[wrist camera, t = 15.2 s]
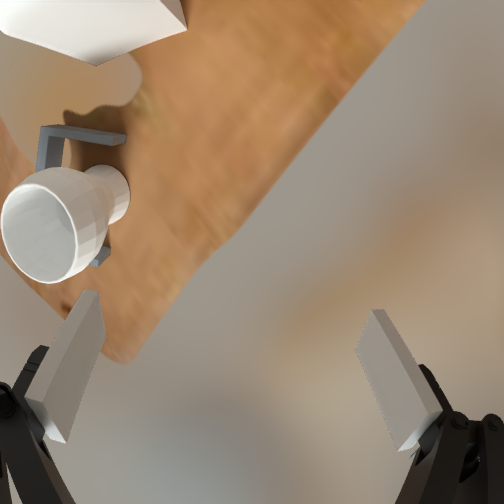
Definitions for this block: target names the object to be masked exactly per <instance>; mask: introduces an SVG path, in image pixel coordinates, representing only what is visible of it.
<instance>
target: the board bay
mask: <svg viewBox="0 0 504 504" xmlns="http://www.w3.org/2000/svg"><path fill="white" fill-rule="evenodd" d="M126 136H127V135H124V134H119V133H113V132H107V131H100V130H94V129H87V128H81V127H74V126H66V125H48V126H41V129H40V137H39V144H38V152H37V162H36V173H37V172H39V171H42V170H45V169H48V168H51V167H61V163H62V155H63V147H64V140H65V138H67V139H74V140H80V141H86V142H92V143H98V144H103V145H109V146H114V145H118V144H123V143H125V141H126ZM110 250H111V248H109V247H106V246H101V248H100V251H99V253H98V254H97V255H96V256H95V258H94V259H93V260H92V261H91V262H90V263H89V265H92V266H95V267H99V266H100V265H101V264H102V263H103V262H104V260H105V259H106V258H107V257H108V256H109V255H110Z"/></svg>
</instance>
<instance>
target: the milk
mask: <svg viewBox="0 0 504 504" xmlns="http://www.w3.org/2000/svg"><path fill="white" fill-rule="evenodd" d="M0 30H1V31H2V32H3V33H4V34H7V35H9V36H12V37H15V38H18V39H21V40H25V41H28V42H31V43H34V44H37V45H40V46H43V47H46V48H49V49H52V50H55V51H58V52H60V53H63V54H66V55H68V56H71V57H74V58H77V59H79V60H82V61H84V62H87V63H89V64H92V65H95V66H98V65H100V64H102V63H104V62H106V61H108V60H111V59H113V58H115V57H117V56H120V55H122V54H124V53H127V52H129V51H131V50H134V49H136V48H139V47H141V46H144V45H146V44H149V43H152V42H154V41H157V40H160V39H162V38H165V37H168V36H171V35H174V34H177V33H180V32H183V31H186V30H188V29H187V25H186V22H185V18H184V14H183V10H182V7H181V3H180V0H0Z"/></svg>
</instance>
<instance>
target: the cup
mask: <svg viewBox="0 0 504 504" xmlns="http://www.w3.org/2000/svg"><path fill="white" fill-rule="evenodd" d="M129 201H130V190H129V187H128V183H127V181H126V179H125V178H124V176H123V175H122V174H121V173H120V172H119V171H118V170H117V169H115V168H114V167H112V166H108V165H96V166H93V167H91V168H89V169H88V170H86V171H85V172H84V173H83V172H80V171H77V170H74V169H69V168H64V167H51V168H48V169H45V170H42V171H39V172H37V173H34V174H32V175H30V176H28V177H27V178H26V179H25V180H24V181H22V182H21V183H20V184H19V185H18V186H17V187H16V188H15V189H13V190H12V191H11V192H10V193H9V195H8V197H7V199H6V200H5V202H4V205H3V209H2V213H1V231H2V237H3V241H4V244H5V247H6V249H7V252H8V253H9V255H10V257H11V259H12V260H13V262H14V263H15V264H16V265H17V267H18V268H19V269H20V270H21V271H22V272H23V273H25V274H26V275H27V276H28V277H30V278H32V279H34V280H36V281H38V282H42V283H48V284H50V283H56V282H60V281H62V280H64V279H67V278H69V277H71V276H73V275H75V274H77V273H78V272H80V271H82V270H83V269H84V268H85V267H86V266H87V265H88V264H89V263H90V262H91V261H92V260H93V259H94V258H95V256H96V255H97V254H98V253H99V251H100V248H101V246H102V244H103V242H104V239H105V236H106V233H107V229H108V225H109V224H111V223H113V222H115V221H117V220H119V219H120V218H121V217H122V216H123V215H124V214H125V212H126V210H127V208H128V206H129Z"/></svg>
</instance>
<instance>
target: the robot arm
mask: <svg viewBox="0 0 504 504" xmlns="http://www.w3.org/2000/svg"><path fill="white" fill-rule="evenodd" d="M105 338H106V332H105V326H104V321H103V315H102V310H101V304H100V298H99V291H93V290H85V289H84V290H83V292H82V294H81V295H80V297H79V298H78V300H77V302H76V303H75V305H74V307H73V308H72V310H71V311H70V313H69V315H68V316H67V318H66V320H65V321H64V323H63V325H62V327H61V328H60V330H59V332H58V333H57V335H56V337H55V339H54V341H53V342H52V344H51V346H50V347H46V346H43V345H40V346H39V347H38V348H37V349H35V350H34V351H33V352H32V354H31V355H30V357H29V359H28V360H27V363H26V364H25V366H24V368H23V370H22V371H21V373H20V375H19V377H18V378H17V380H16V382H15V384H14V386H13V388H12V389H11V387H10V386H9V385H8V384H6V383H4V382H0V504H12V500H11V494H10V488H9V482H8V474H7V466H6V463H7V465H8V469H9V471H10V474H11V477H12V479H13V482H14V485H15V487H16V489H17V492H18V494H19V497H20V499H21V501H22V503H23V504H76V503H75V502H74V500H73V498H72V497H71V494H70V493H69V491H68V489H67V487H66V485H65V483H64V482H63V480H62V478H61V476H60V474H59V472H58V470H57V468H56V466H55V464H54V462H53V460H52V457H51V455H50V453H49V451H48V449H47V446H46V444H45V442H44V440H43V436H44V433H45V432H46V433H47V435H48V436H49V438H50V439H52V440H56V441H59V442H63V443H67V441H68V438H69V434H70V431H71V428H72V425H73V422H74V419H75V416H76V413H77V411H78V408H79V405H80V402H81V399H82V396H83V393H84V391H85V388H86V386H87V383H88V380H89V378H90V375H91V372H92V370H93V367H94V365H95V362H96V360H97V357H98V355H99V352H100V350H101V347H102V345H103V343H104V340H105ZM355 351H356V353H357V355H358V358H359V360H360V362H361V365H362V367H363V369H364V372H365V374H366V376H367V379H368V381H369V383H370V386H371V388H372V391H373V393H374V395H375V398H376V400H377V403H378V405H379V408H380V410H381V413H382V415H383V417H384V420H385V422H386V425H387V428H388V430H389V433H390V435H391V438H392V440H393V443H394V446H395V448H396V451H401V450H405V449H409V448H412V447H413V446H414V444H415V443H416V442H417V441H418V442H419V444H420V447H419V448H418V449H417V450H416V451H415V452H414V453H413V454H412V456H411V457H410V458H409V460H411V459H412V458H413V457H414V456H415V457H414V460H413V463H412V465H411V468H410V470H409V472H408V475H407V477H406V480H405V482H404V484H403V487H402V489H401V492H400V494H399V496H398V498H397V500H396V502H395V504H504V423H503V421H502V420H501V418H500V417H498V416H497V415H494V414H487V415H486V416H485V417H484V418H483V419H482V420H481V421H473V420H469V419H468V418H467V417H466V416H465V415H464V414H462V413H461V412H457V411H453V409H452V407H451V405H450V404H449V402H448V400H447V398H446V397H445V395H444V393H443V391H442V390H441V388H439V384H438V383H437V381H436V379H435V377H434V376H433V374H432V372H431V371H430V370H429V369H428V368H427V367H426V366H425V365H423V364H421V365H417V363H416V361H415V359H414V358H413V356H412V354H411V353H410V351H409V349H408V348H407V346H406V345H405V343H404V341H403V339H402V338H401V336H400V334H399V333H398V331H397V329H396V328H395V326H394V325H393V323H392V321H391V320H390V318H389V317H388V315H387V313H386V312H385V310H371V312H370V314H369V317H368V319H367V322H366V325H365V327H364V330H363V332H362V335H361V337H360V340H359V342H358V344H357V347H356V349H355ZM479 460H480V461H479Z"/></svg>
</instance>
